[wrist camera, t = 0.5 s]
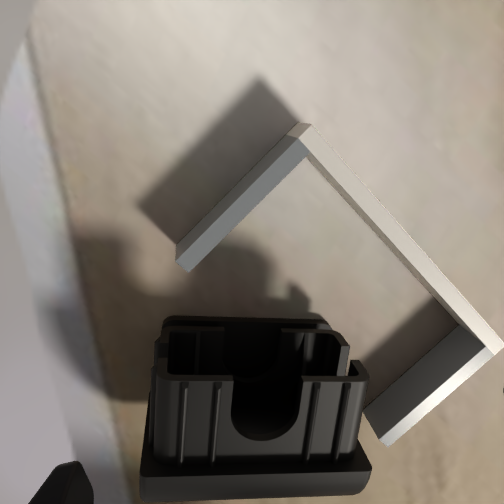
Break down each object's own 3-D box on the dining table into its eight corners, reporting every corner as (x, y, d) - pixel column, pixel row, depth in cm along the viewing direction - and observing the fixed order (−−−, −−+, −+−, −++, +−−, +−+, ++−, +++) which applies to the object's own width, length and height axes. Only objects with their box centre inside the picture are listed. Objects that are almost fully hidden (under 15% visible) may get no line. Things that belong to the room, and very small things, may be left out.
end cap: (148, 430, 26) (137, 536, 19) (153, 314, 24) (141, 390, 17) (321, 428, 27) (362, 526, 21) (339, 319, 25) (391, 391, 19)
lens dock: (370, 418, 27) (387, 447, 25) (176, 245, 23) (175, 261, 20) (477, 323, 27) (506, 345, 24) (298, 122, 22) (311, 124, 19)
